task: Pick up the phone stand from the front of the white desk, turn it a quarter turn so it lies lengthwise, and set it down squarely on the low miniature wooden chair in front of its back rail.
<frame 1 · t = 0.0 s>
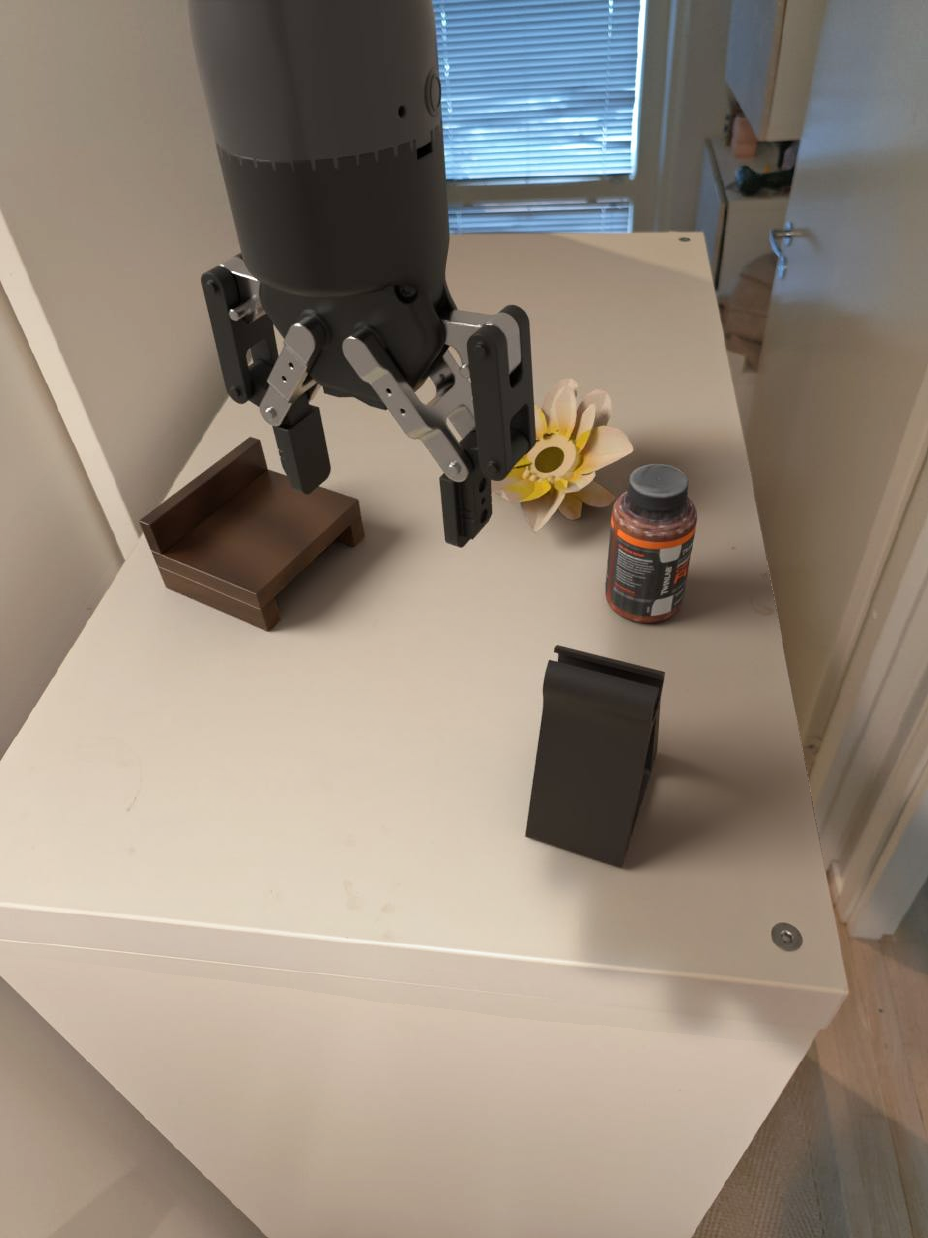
hand: (386, 509, 39), 22 cm above the cabinet, tool pointing down, fingers open, 8 cm apart
decorative flower: (535, 491, 77), on the cabinet
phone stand: (593, 796, 53), on the cabinet
supplement bottle: (642, 601, 66), on the cabinet
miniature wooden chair: (267, 561, 71), on the cabinet
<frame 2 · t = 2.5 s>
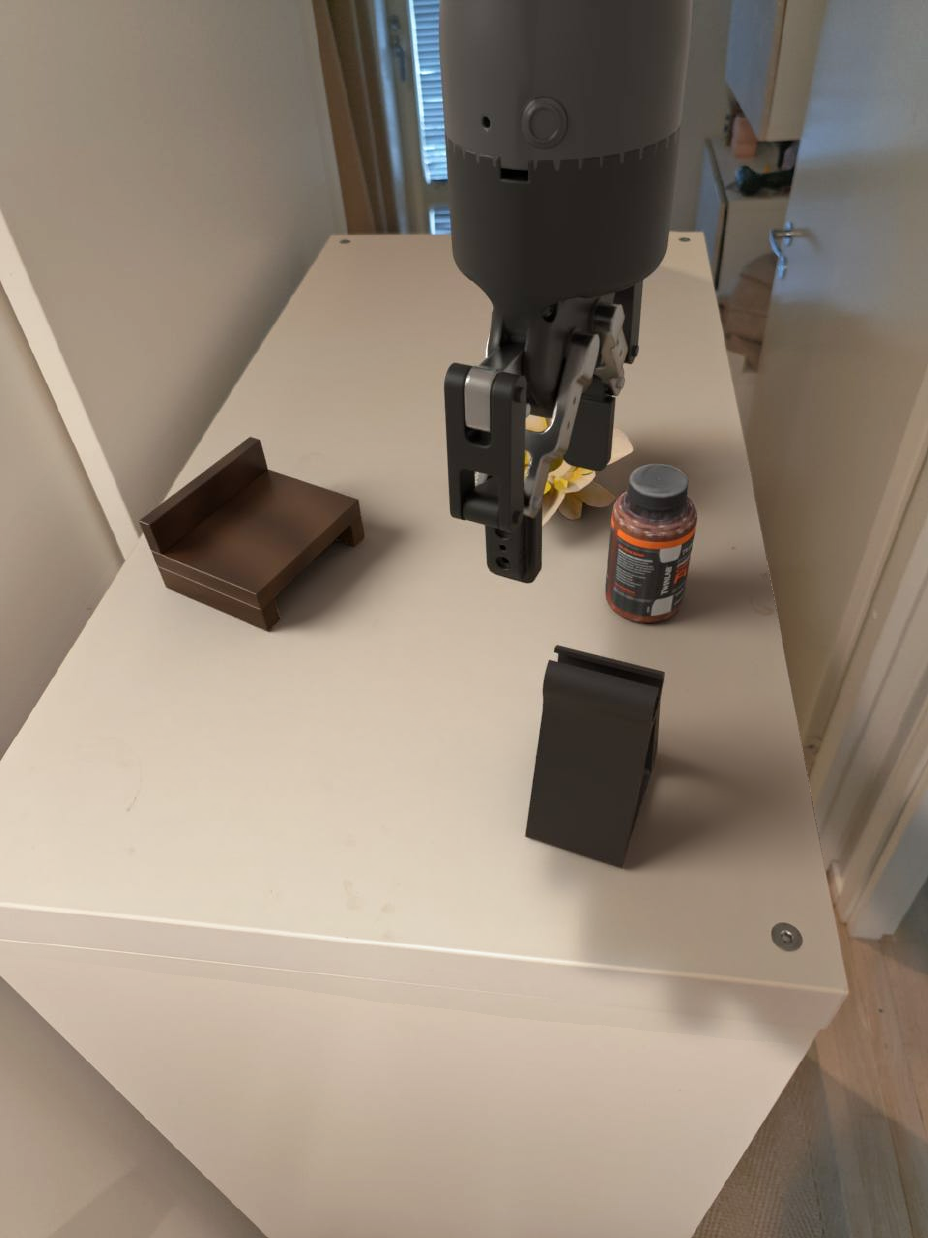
hand: (552, 516, 38), 22 cm above the cabinet, tool pointing down, fingers open, 8 cm apart
nothing on the cabinet moved.
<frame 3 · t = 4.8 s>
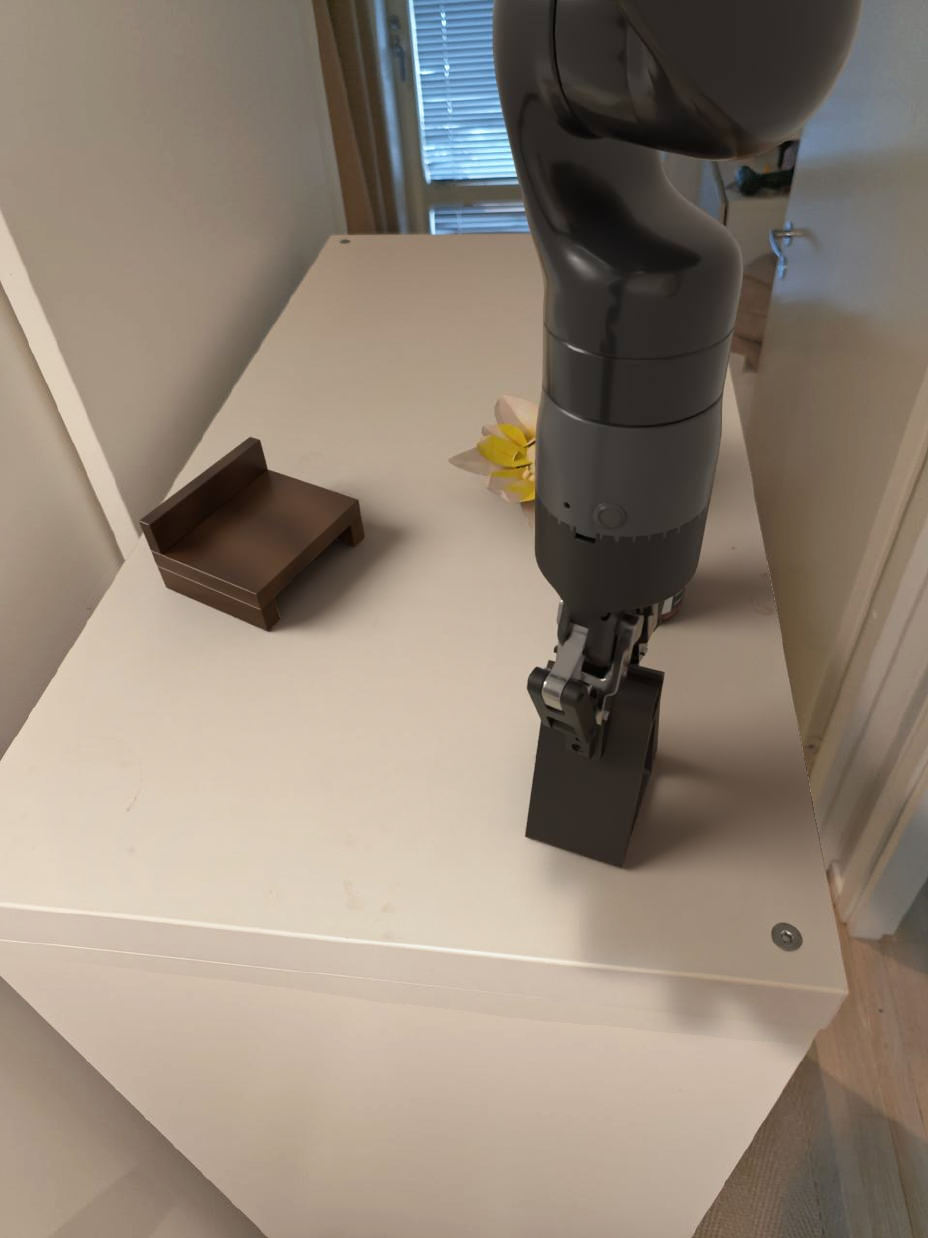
hand: (599, 724, 48), 7 cm above the cabinet, tool pointing down, fingers closed on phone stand, 3 cm apart
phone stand: (593, 796, 53), on the cabinet, touching gripper
everything else where it was.
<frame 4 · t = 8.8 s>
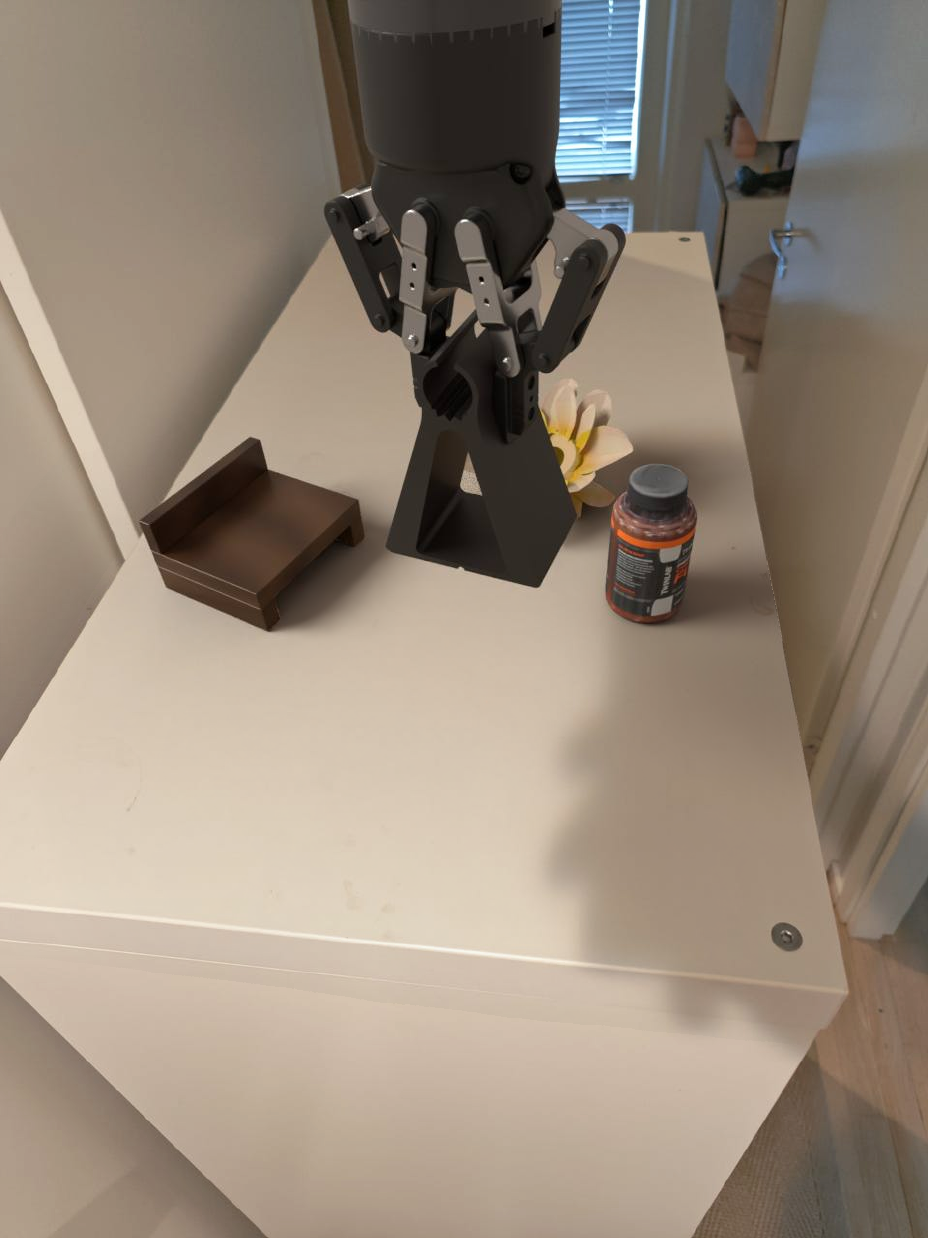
hand: (476, 423, 42), 23 cm above the cabinet, tool pointing down, fingers closed on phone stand, 3 cm apart
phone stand: (482, 538, 47), point 16 cm above the cabinet, touching gripper
everything else where it was.
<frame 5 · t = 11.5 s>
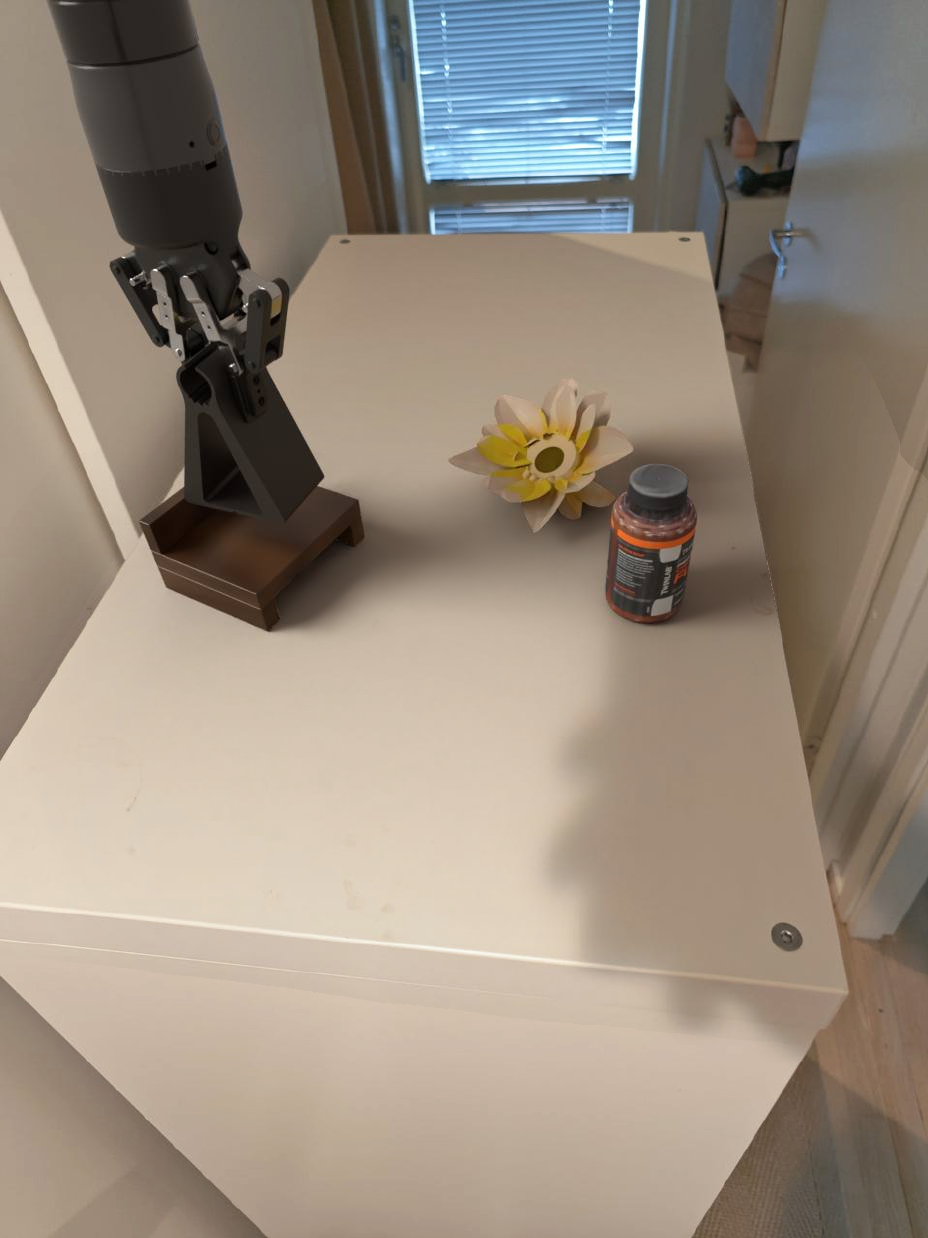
hand: (233, 408, 60), 15 cm above the cabinet, tool pointing down, fingers closed on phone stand, 3 cm apart
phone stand: (256, 492, 66), point 8 cm above the cabinet, touching gripper
everything else where it was.
when the fingers open (11 cm above the cabinet, at t = 13.1 s): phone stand stays where it is, resting on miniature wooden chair.
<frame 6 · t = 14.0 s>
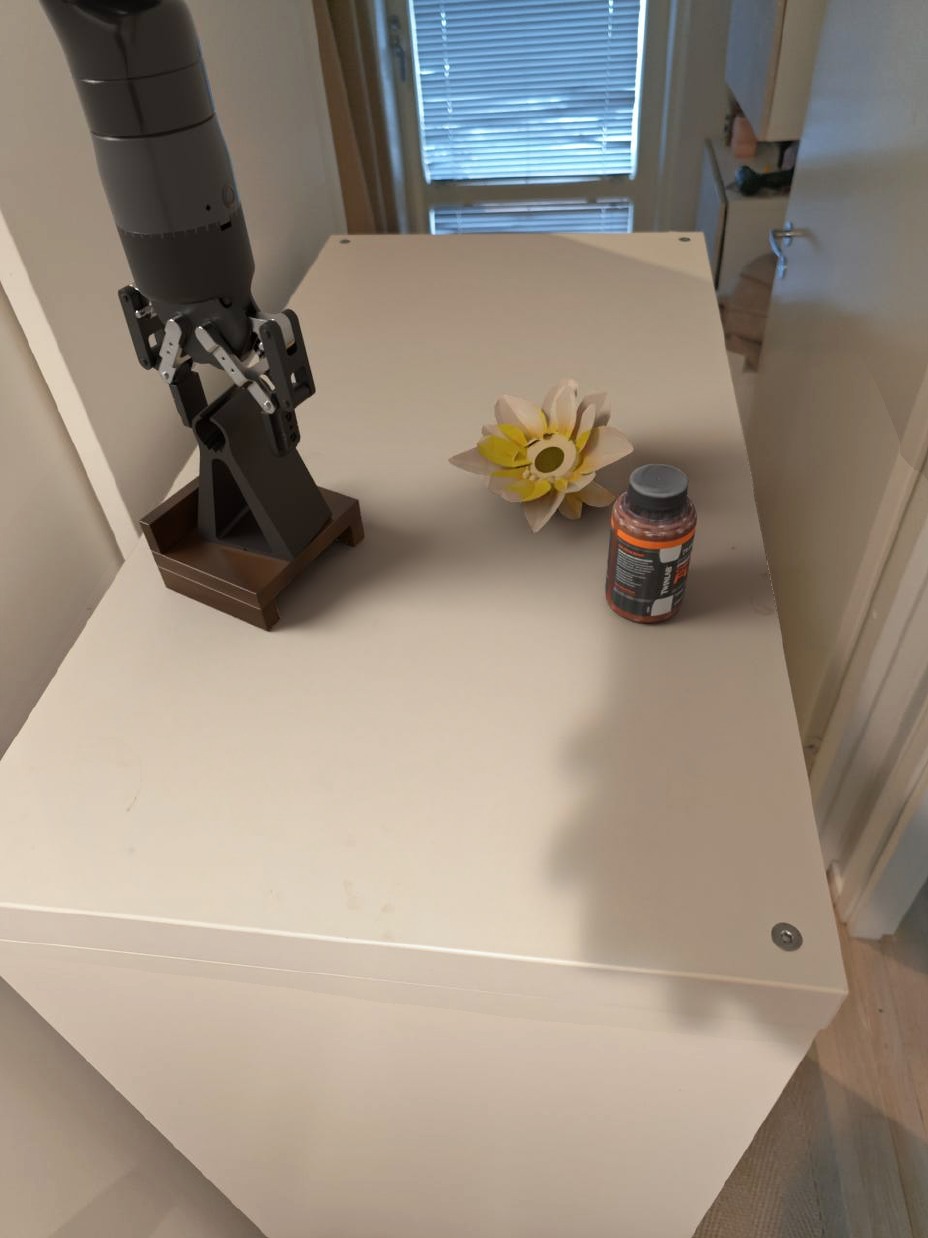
hand: (241, 436, 62), 13 cm above the cabinet, tool pointing down, fingers open, 8 cm apart
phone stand: (267, 530, 68), point 4 cm above the cabinet, touching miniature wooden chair
everything else where it was.
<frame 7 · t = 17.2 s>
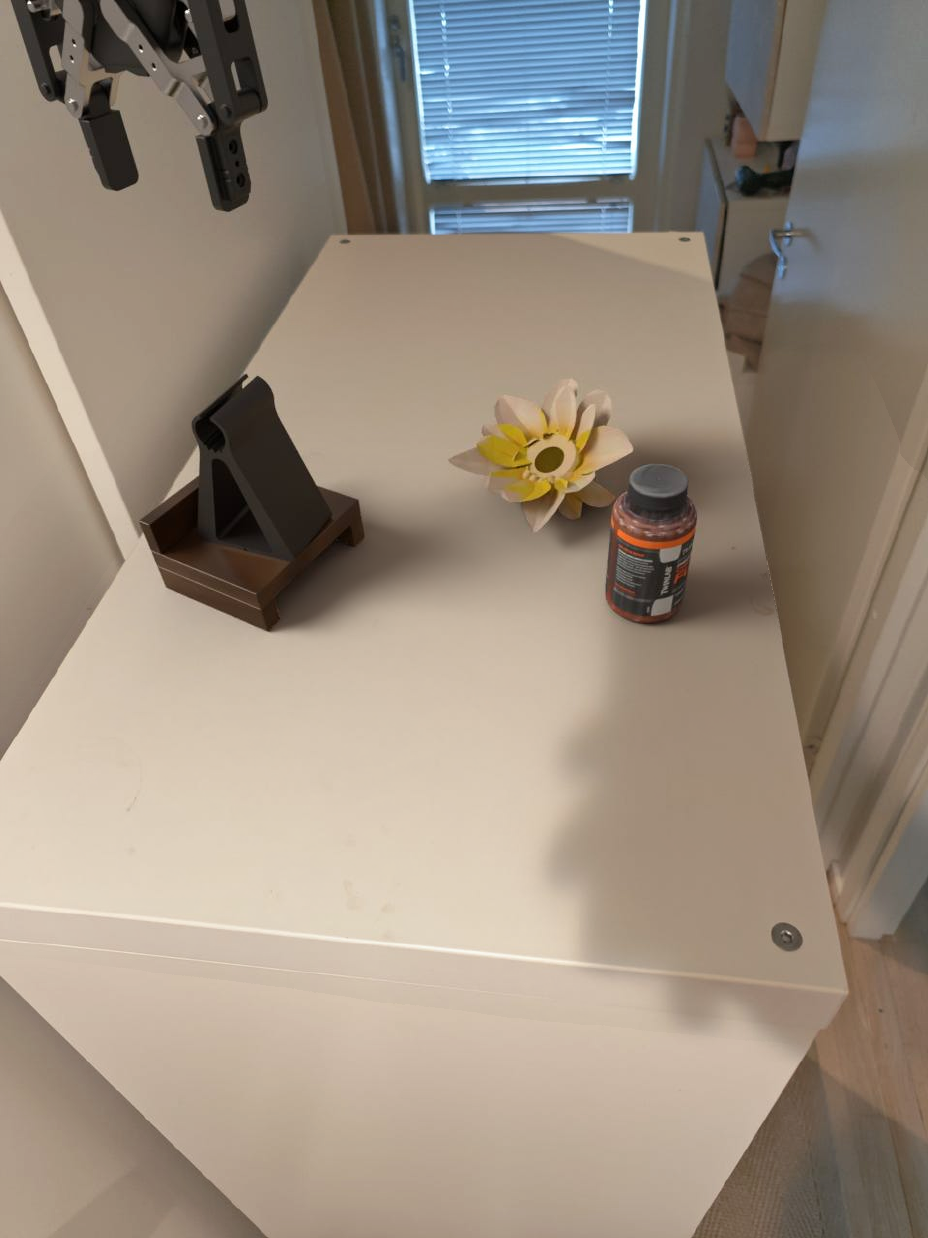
hand: (176, 196, 48), 30 cm above the cabinet, tool pointing down, fingers open, 8 cm apart
nothing on the cabinet moved.
at the end: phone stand 0.3 cm from the target spot on the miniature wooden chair, point 3.8 cm above the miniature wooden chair's base; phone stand tilted 0°; the gripper is holding nothing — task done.
